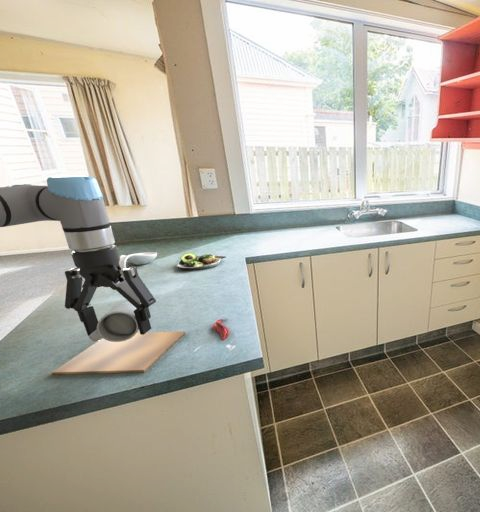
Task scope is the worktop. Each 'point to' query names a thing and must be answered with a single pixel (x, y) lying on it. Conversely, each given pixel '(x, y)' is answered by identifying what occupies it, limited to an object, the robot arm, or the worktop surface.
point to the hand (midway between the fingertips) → (120, 332)
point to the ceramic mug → (117, 324)
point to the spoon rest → (137, 258)
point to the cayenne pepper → (221, 329)
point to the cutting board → (121, 354)
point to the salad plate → (198, 261)
